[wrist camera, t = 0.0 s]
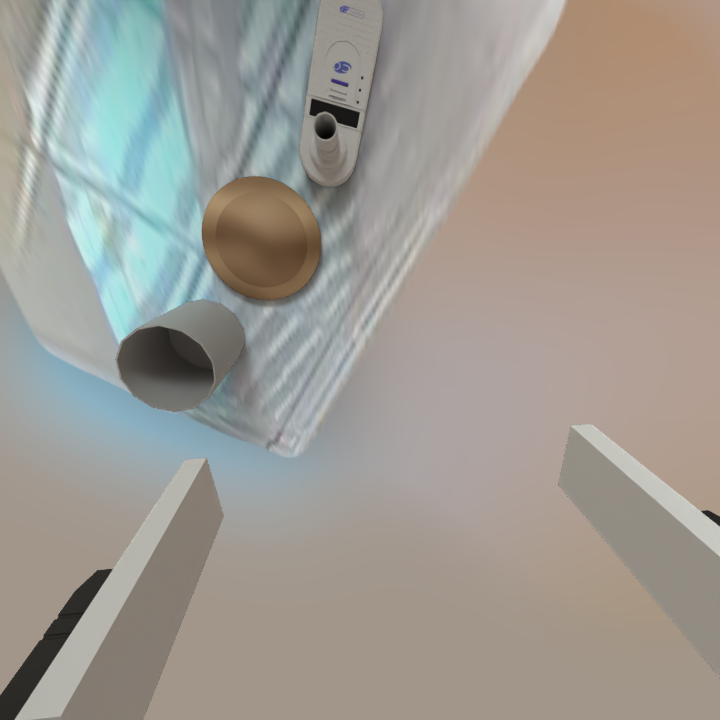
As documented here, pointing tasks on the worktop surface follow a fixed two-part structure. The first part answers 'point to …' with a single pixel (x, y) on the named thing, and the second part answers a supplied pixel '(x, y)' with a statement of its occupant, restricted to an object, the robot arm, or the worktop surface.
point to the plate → (261, 238)
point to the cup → (181, 355)
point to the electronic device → (339, 87)
